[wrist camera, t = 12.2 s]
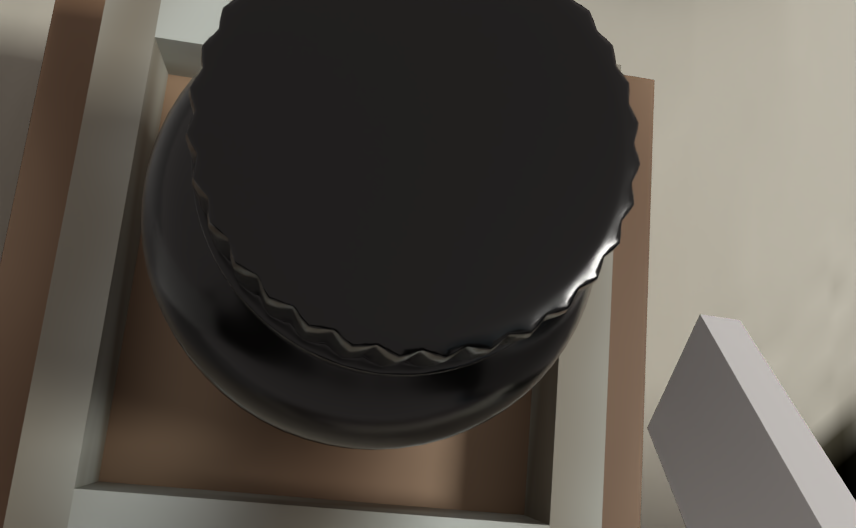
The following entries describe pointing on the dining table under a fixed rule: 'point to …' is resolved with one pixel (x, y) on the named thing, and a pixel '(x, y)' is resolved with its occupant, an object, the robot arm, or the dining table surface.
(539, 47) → the supplement bottle
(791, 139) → the dining table surface
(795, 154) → the dining table surface
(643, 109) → the walnut tray
